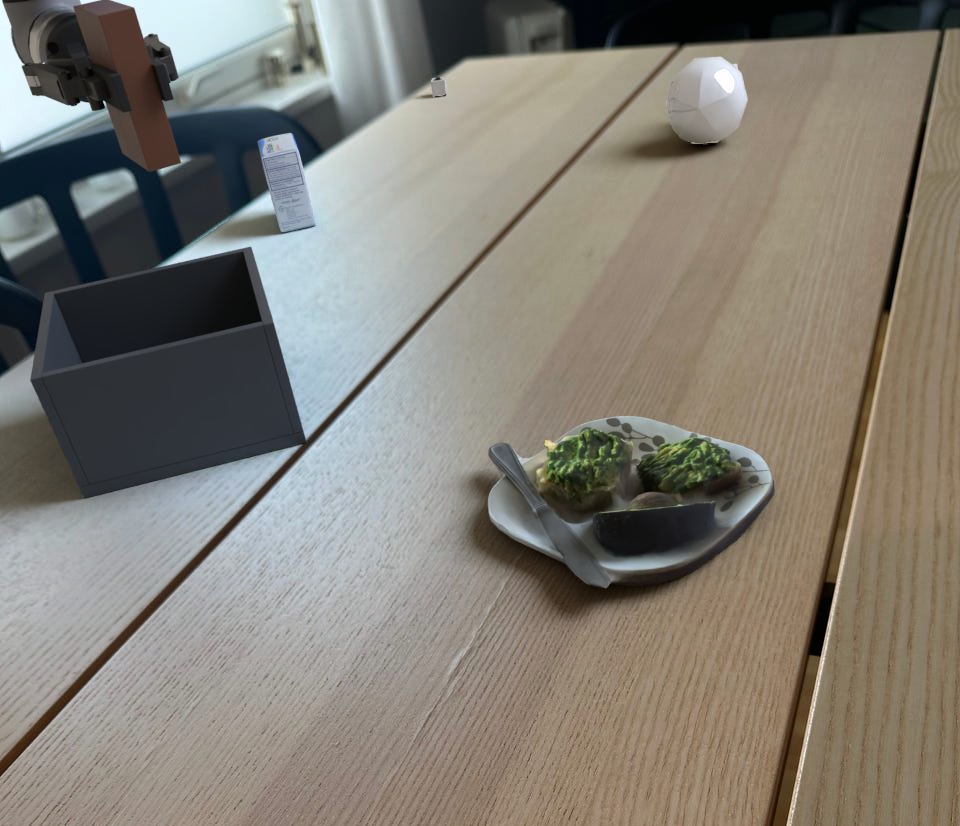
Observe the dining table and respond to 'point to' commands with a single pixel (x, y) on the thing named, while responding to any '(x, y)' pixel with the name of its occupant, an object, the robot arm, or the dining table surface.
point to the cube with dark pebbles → (438, 86)
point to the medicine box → (286, 182)
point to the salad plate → (629, 499)
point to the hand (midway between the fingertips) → (143, 88)
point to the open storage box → (163, 372)
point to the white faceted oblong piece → (706, 100)
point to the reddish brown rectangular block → (129, 82)
